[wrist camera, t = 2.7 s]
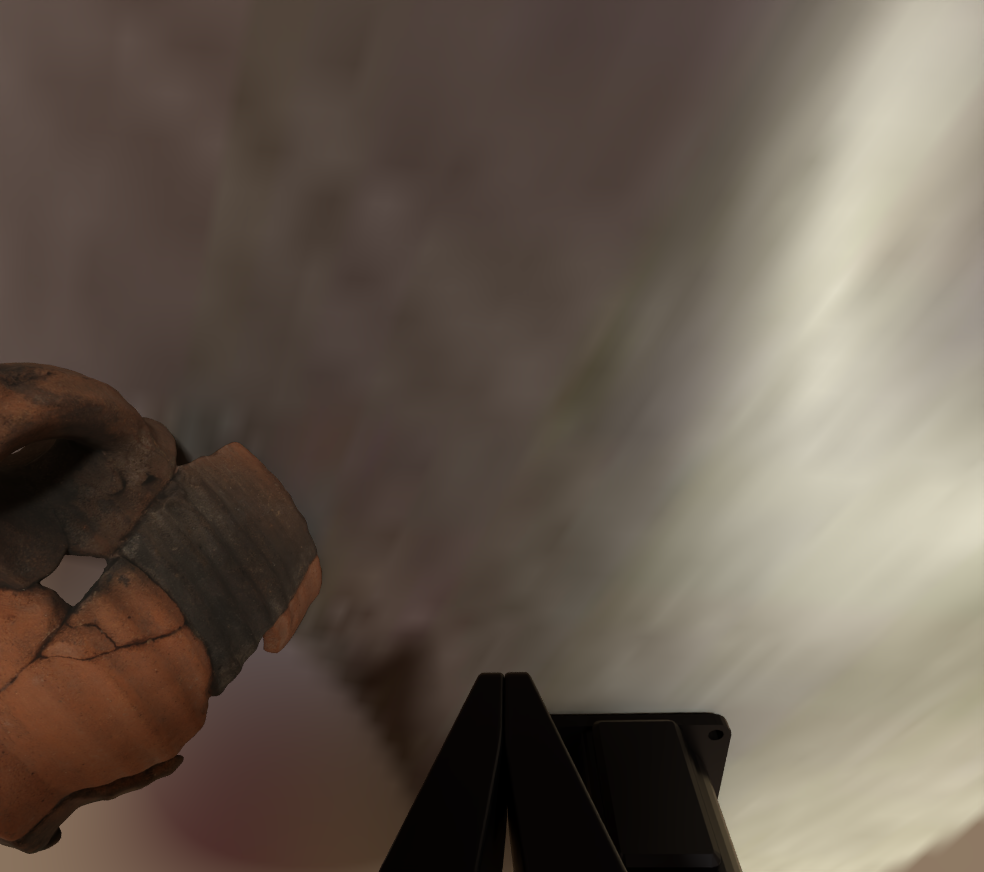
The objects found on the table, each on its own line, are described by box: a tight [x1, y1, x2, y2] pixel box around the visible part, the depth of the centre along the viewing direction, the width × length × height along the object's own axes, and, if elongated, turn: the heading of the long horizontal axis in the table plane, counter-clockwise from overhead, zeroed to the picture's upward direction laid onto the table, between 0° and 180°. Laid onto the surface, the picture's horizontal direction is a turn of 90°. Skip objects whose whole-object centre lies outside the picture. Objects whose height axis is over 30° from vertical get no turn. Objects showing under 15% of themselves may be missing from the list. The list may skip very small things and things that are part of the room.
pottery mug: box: [0, 363, 322, 854], centre depth 13 cm, size 12×10×8 cm
